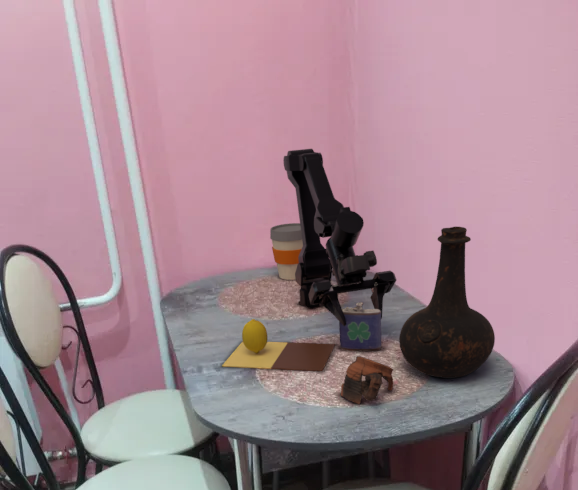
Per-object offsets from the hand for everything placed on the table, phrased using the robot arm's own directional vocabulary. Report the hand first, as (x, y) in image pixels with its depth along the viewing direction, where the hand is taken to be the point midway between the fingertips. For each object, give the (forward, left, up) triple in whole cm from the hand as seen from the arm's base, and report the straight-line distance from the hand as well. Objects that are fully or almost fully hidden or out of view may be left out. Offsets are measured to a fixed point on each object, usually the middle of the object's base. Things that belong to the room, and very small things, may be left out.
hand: (362, 322), depth 129 cm
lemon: (+19, -14, -7) cm, 25 cm away
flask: (0, -1, -7) cm, 7 cm away
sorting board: (+16, -10, -7) cm, 20 cm away
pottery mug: (+12, +18, -7) cm, 22 cm away
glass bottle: (-7, +18, -7) cm, 20 cm away
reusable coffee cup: (-19, -62, -7) cm, 66 cm away
